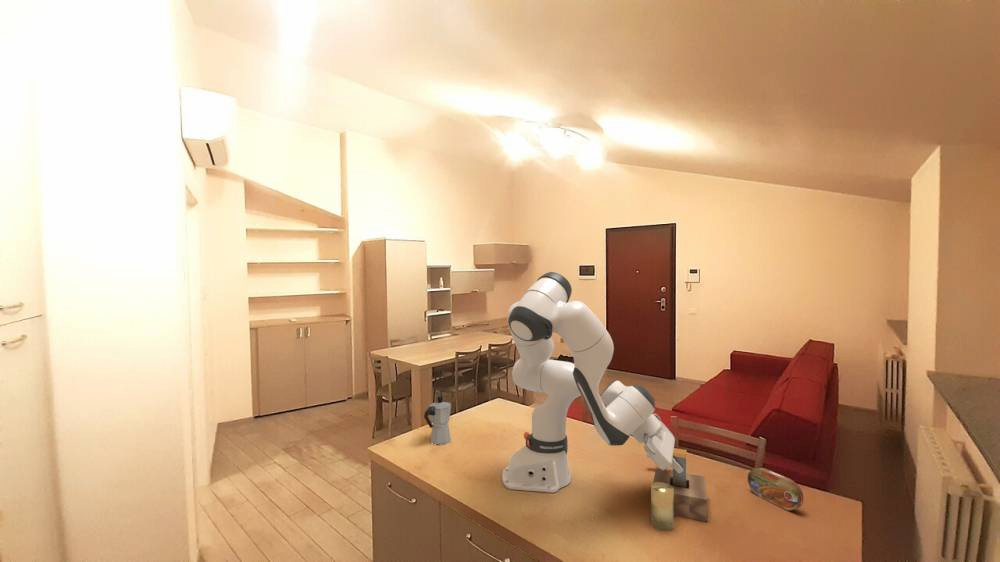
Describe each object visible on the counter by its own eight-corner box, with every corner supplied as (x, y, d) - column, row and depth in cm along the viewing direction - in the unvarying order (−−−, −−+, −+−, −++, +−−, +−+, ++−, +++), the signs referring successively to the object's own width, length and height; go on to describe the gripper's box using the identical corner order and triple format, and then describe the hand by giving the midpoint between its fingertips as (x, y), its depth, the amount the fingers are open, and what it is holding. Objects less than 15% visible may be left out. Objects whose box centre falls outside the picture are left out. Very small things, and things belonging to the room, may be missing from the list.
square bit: (672, 487, 123) (672, 452, 122) (673, 481, 126) (673, 447, 125) (686, 489, 121) (686, 454, 121) (686, 483, 124) (686, 449, 124)
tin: (746, 491, 131) (747, 463, 130) (753, 488, 132) (753, 461, 132) (798, 516, 117) (798, 486, 117) (805, 514, 118) (805, 484, 118)
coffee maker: (443, 433, 178) (443, 390, 178) (459, 438, 173) (458, 394, 173) (417, 445, 166) (416, 399, 166) (433, 451, 161) (432, 403, 161)
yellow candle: (655, 530, 111) (655, 493, 111) (648, 518, 117) (648, 482, 116) (677, 530, 111) (677, 492, 111) (668, 517, 117) (668, 482, 117)
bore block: (652, 510, 121) (652, 489, 120) (655, 487, 133) (655, 468, 133) (706, 521, 115) (707, 499, 115) (705, 496, 128) (705, 476, 127)
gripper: (650, 435, 116) (689, 477, 113) (657, 412, 135) (690, 448, 131) (633, 448, 118) (671, 490, 115) (642, 424, 137) (675, 459, 133)
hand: (681, 467), depth 123 cm, fingers closed on square bit, 3 cm apart
